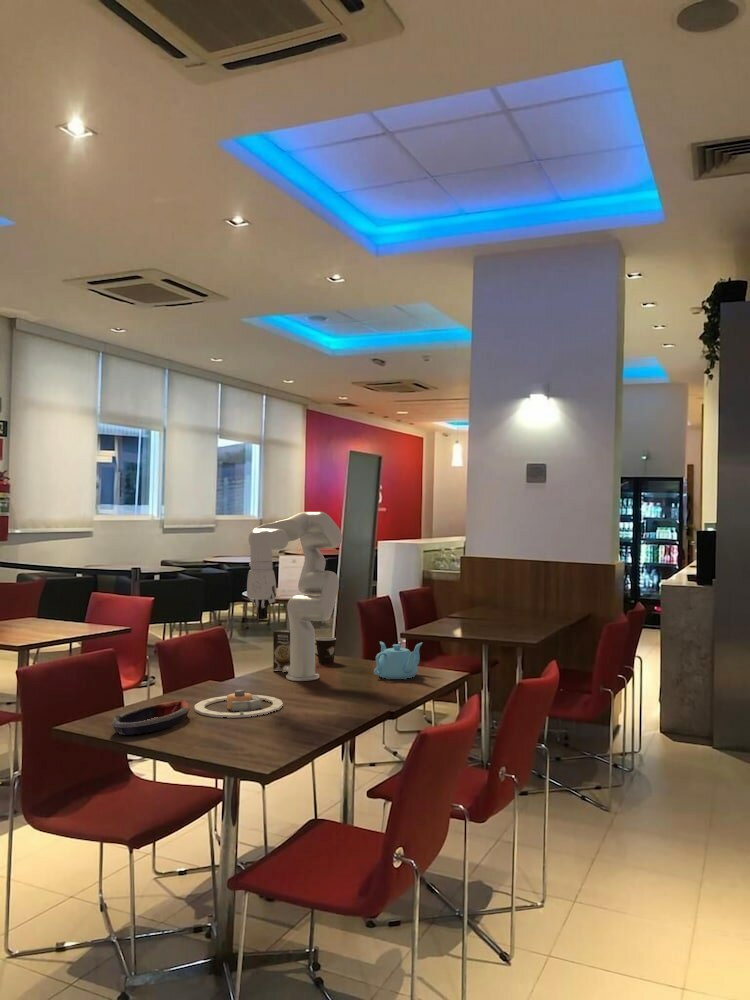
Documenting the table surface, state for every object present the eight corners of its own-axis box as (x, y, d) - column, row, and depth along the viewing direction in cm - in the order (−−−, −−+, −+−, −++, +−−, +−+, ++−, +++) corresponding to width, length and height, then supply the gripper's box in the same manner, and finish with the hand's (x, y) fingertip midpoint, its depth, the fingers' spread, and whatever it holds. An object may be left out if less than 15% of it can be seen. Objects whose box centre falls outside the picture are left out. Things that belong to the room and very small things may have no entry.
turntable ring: (176, 710, 261) (176, 707, 261) (235, 693, 285) (235, 690, 285) (243, 721, 246) (243, 718, 246) (299, 703, 270) (299, 699, 270)
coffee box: (272, 672, 324) (272, 631, 325) (280, 669, 330) (279, 629, 331) (293, 673, 321) (293, 632, 321) (300, 670, 327) (300, 630, 327)
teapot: (422, 672, 322) (422, 641, 322) (417, 682, 303) (416, 649, 304) (380, 671, 325) (379, 640, 325) (371, 680, 306) (371, 648, 307)
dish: (96, 735, 233) (96, 718, 233) (168, 711, 261) (168, 696, 261) (137, 742, 226) (137, 724, 226) (207, 717, 254) (207, 701, 254)
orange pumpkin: (222, 709, 263) (222, 692, 264) (237, 703, 271) (237, 687, 271) (242, 711, 260) (242, 694, 260) (257, 706, 267) (256, 689, 267)
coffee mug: (333, 660, 349) (333, 636, 349) (338, 663, 341) (338, 639, 341) (306, 661, 346) (306, 638, 346) (311, 665, 337) (311, 641, 338)
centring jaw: (229, 711, 260) (229, 702, 260) (253, 703, 270) (253, 694, 270) (244, 713, 256) (244, 704, 257) (268, 706, 267) (268, 696, 267)
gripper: (238, 566, 285) (239, 618, 285) (271, 568, 276) (272, 622, 277) (252, 564, 291) (253, 615, 291) (285, 566, 283) (286, 618, 283)
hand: (262, 618), depth 284 cm, fingers closed
